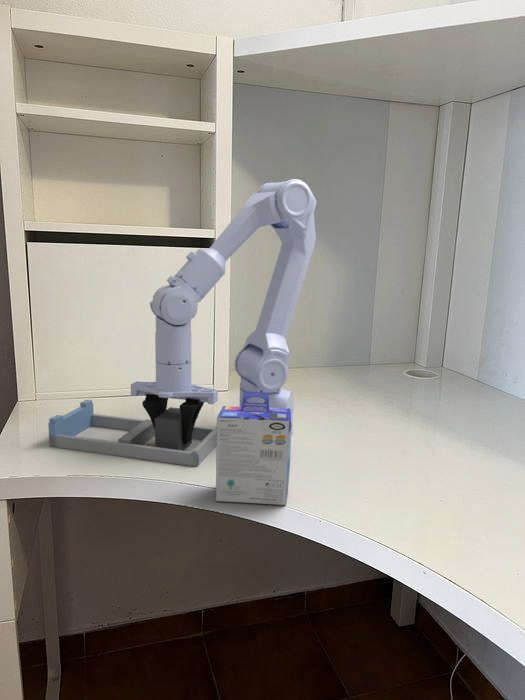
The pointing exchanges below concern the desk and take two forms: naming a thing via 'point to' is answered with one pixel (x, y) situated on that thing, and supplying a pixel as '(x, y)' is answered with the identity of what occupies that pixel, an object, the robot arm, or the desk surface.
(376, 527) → the desk surface
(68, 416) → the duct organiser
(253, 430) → the ink cartridge box
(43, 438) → the desk surface
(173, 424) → the dark grey block
